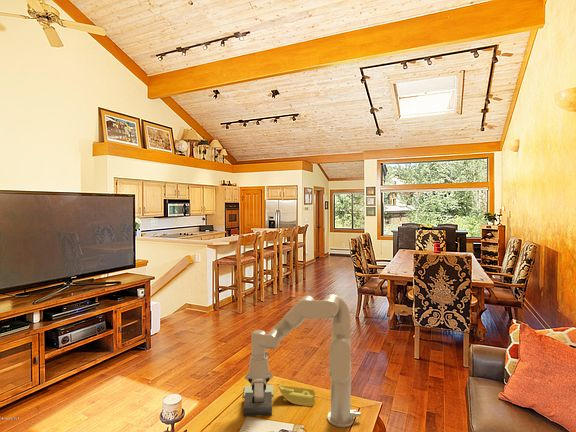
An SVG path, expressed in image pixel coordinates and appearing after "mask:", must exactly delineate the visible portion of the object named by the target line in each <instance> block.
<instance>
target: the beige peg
mask: <svg viewBox="0 0 576 432" xmlns="http://www.w3.org/2000/svg"><path fill="white" fill-rule="evenodd" d="M263 382H264V380H263V379H255V380H254V403H264V391H263Z"/></svg>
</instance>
